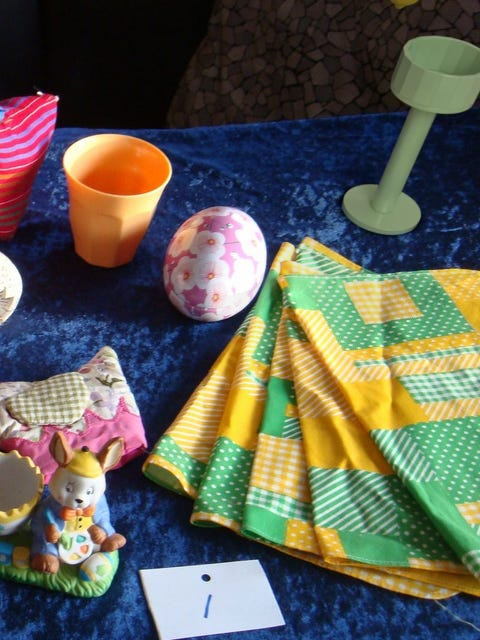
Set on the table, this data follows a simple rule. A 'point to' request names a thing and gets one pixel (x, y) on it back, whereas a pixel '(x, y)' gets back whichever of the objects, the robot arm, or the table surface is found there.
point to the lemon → (403, 3)
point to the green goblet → (416, 126)
